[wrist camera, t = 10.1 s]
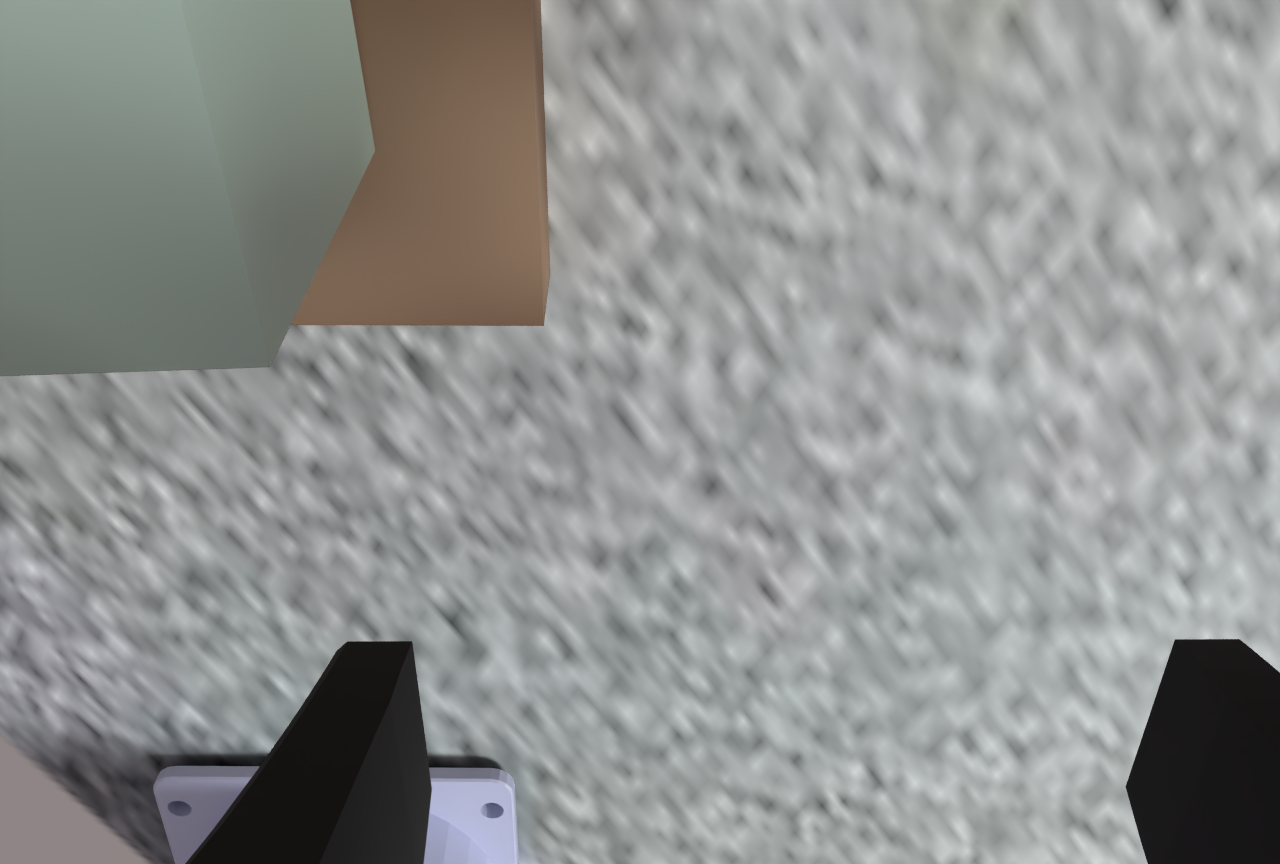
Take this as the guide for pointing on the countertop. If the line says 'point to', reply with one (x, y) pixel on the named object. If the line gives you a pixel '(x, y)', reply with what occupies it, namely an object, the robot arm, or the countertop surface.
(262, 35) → the sage block
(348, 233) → the walnut board
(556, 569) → the countertop surface
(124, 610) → the countertop surface
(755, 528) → the countertop surface
